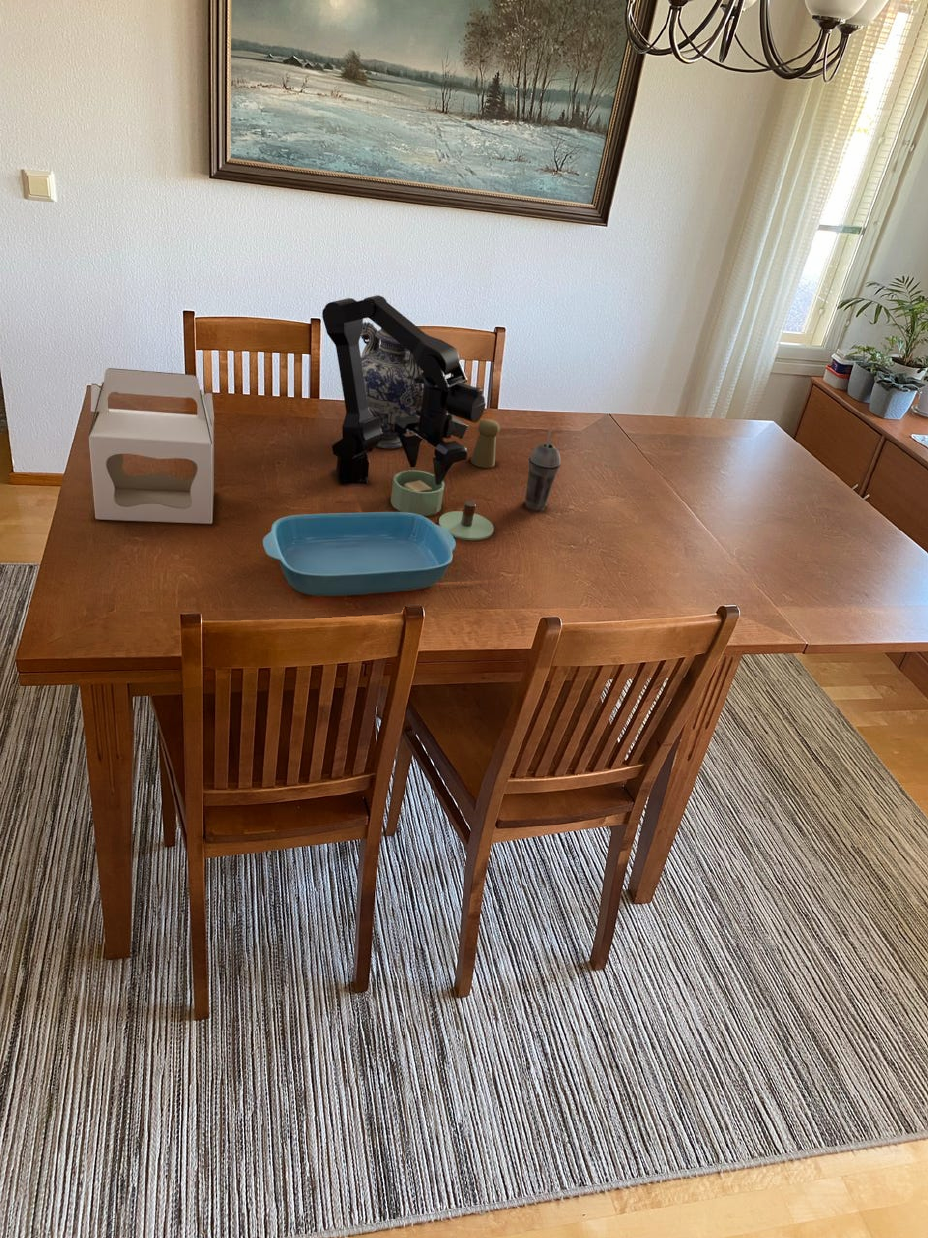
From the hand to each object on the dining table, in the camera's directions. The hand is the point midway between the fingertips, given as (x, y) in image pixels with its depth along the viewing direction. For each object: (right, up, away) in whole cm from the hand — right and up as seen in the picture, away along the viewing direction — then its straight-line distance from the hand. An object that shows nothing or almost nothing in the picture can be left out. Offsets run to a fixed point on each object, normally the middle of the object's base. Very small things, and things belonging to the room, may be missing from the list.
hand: (425, 475), depth 193 cm
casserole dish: (-12, -22, -22) cm, 33 cm away
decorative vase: (-12, +14, +32) cm, 37 cm away
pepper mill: (+13, +8, +30) cm, 34 cm away
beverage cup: (+25, -5, +14) cm, 29 cm away
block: (-2, -5, +5) cm, 8 cm away
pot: (-2, -6, +5) cm, 8 cm away
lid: (+9, -11, -1) cm, 14 cm away
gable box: (-54, -9, -13) cm, 56 cm away
